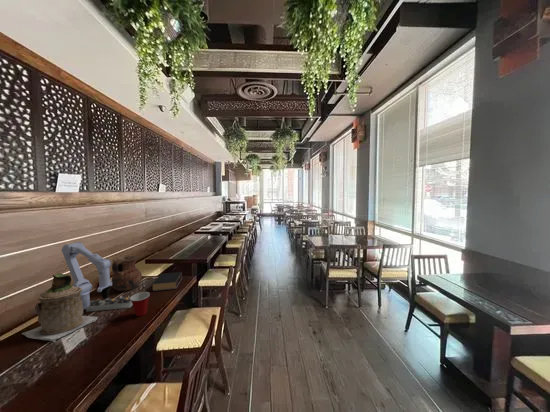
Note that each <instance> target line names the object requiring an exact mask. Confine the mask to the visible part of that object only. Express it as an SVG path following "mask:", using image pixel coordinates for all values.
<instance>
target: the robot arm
mask: <svg viewBox="0 0 550 412" xmlns="http://www.w3.org/2000/svg"><path fill="white" fill-rule="evenodd" d="M61 253H62V255H63V257H64V260H65V262H66V266H67V267H68V270H69V272H70V276H71V279H72V280H73V284H71V286H75V287H81V288H82V292H81V293H80V294H81V299H82V303H83V311H84V310H86V306H88V305H89V304H90V302H91V299H90V298H91V297H90V293H91V291H92V289H93V285H92V283H90V281H89V279H86V278H85V277H84V275H83V272H82V270H81V268H80V267H81V266H80V264H79V262H78V259H77V256H78V255H79V254H80V255H82V256H84V257H85V258H88V259H87V260H88V261H89V262H90V263H91V264H92V265H94V266H95V268H96V269H97V273H98V283H99V286H98V288H97V291H96V292H97V293H100V294H101V296H102V298H103V300H105V299H107V298H109V295H110V292H111V289H112V286H113V285H112V280H111V276H110V275H111V274H110V267H112V261H111V260H110V259H108V258H103V256H100V255H99V254H98V253H92V251H90V250H89V249H88V248H86V247H85V244H84V243H83V242H81V241H78V242H74V243H68V244H64V245H63V246H62V248H61Z"/></svg>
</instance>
